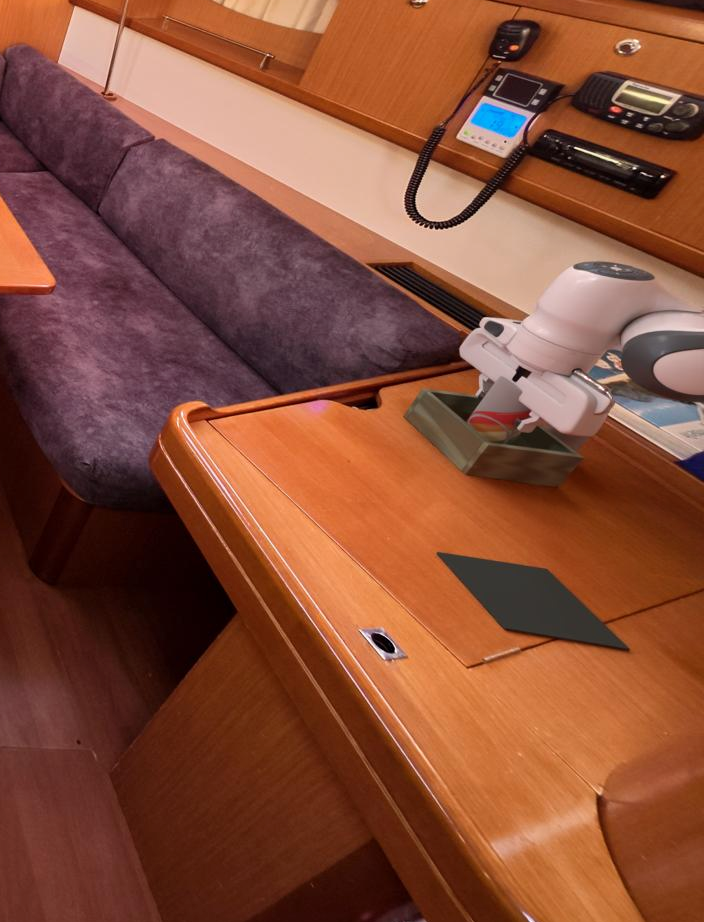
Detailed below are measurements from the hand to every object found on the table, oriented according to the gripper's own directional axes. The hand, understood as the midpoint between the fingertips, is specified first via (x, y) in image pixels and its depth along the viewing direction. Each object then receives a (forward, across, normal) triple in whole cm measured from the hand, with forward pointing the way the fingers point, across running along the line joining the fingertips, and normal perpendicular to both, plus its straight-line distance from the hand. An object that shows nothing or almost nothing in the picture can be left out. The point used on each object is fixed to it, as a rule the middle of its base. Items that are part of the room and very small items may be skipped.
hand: (501, 413), depth 106 cm
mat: (+9, -30, +17) cm, 35 cm away
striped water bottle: (+9, 0, 0) cm, 9 cm away
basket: (+9, 0, 0) cm, 9 cm away
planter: (+9, +2, -13) cm, 16 cm away
